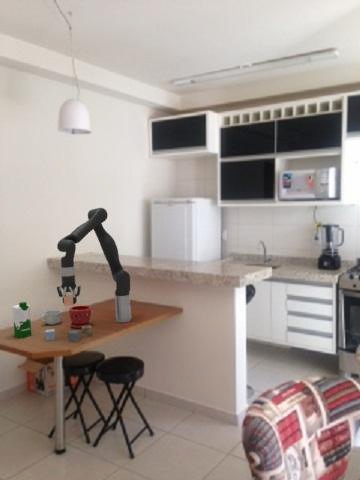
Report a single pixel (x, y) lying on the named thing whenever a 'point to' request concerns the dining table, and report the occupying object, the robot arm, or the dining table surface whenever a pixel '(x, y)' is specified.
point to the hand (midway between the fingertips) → (69, 303)
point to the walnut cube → (86, 331)
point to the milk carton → (22, 320)
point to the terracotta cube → (68, 300)
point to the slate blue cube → (50, 334)
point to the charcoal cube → (74, 336)
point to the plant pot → (80, 316)
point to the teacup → (52, 316)
